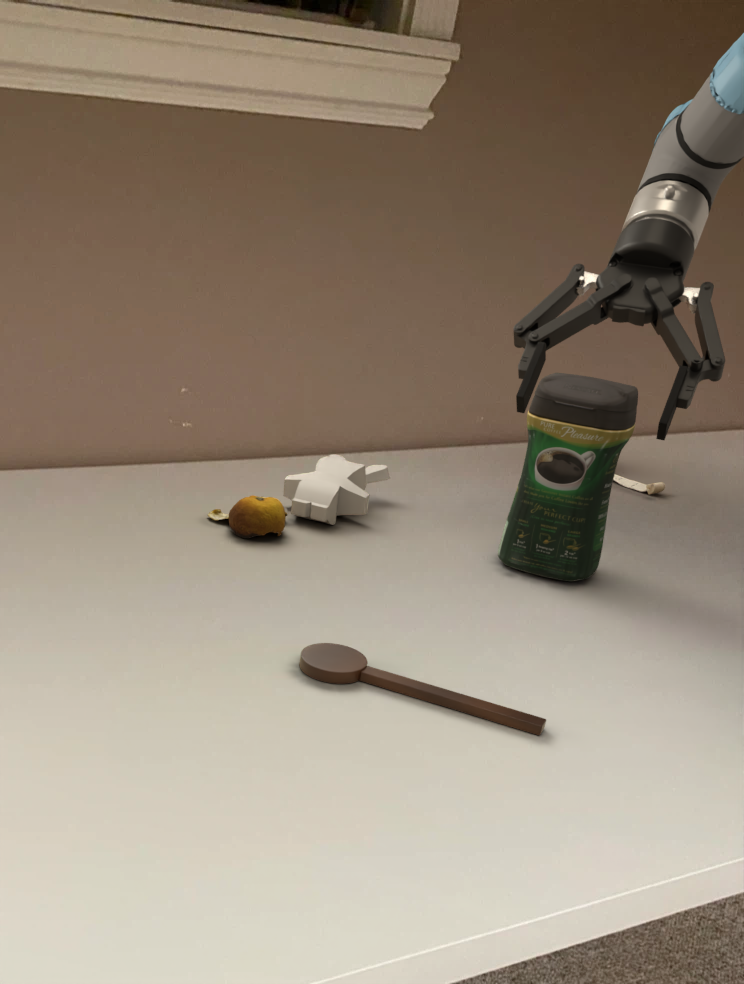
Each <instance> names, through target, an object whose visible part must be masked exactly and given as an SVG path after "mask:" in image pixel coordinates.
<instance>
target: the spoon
mask: <svg viewBox="0 0 744 984" xmlns="http://www.w3.org/2000/svg"><path fill="white" fill-rule="evenodd" d="M298 663H299V669H300V670H301V671H302V672H303V674H305V675H307V676H308V677H310V678H312V679H314V680H316V681H320V682H323V683H327V684H337V685H339V684H340V685H345V684H353V683H357V682H362V683H365V684H369V685H372V686H375V687H377V688H378V687H379V688H383V689H385V690H389V691H392V692H395V693H399V694H402V695H405V696H408V697H412V698H415V699H418V700H420V701H421V700H422V701H424V702H427V703H431V704H434V705H437V706H440V707H444V708H448V709H451V710H454V711H457V712H461V713H464V714H467V715H470V716H474V717H477V718H480V719H482V720H483V719H484V720H486V721H487V720H488V721H491V722H493V723H497V724H500V725H503V726H507V727H510V728H514V729H517V730H518V731H519V730H520V731H524V732H525V733H530V734H533V735H536V736H541V735H542V733H543V731H544V729H545V726H546V723H547V718H544V717H540V716H537V715H534V714H530V713H528V712H524V711H522V710H521V711H520V710H518V709H515V708H510V707H507V706H504V705H500V704H498V703H494V702H490V701H487V700H485V699H480V698H478V697H473V696H471V695H467V694H464V693H460V692H457V691H454V690H450V689H446V688H443V687H440V686H437V685H433V684H430V683H426V682H424V681H420V680H417V679H414V678H409V677H406V676H404V675H401V674H400V675H399V674H396V673H393V672H389V671H387V670H384V669H379V668H376V667H374V666H370V665H368V659H367V657H366V655H364V654H363V652H361V651H359V650H358V649H355V648H353V647H350V646H348V645H344V644H340V643H339V644H338V643H332V642H318V643H313V644H310V645H307V646H305V647H304V648H303V649H301V652H300V655H299V662H298Z"/></svg>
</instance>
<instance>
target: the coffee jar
mask: <svg viewBox="0 0 744 984" xmlns="http://www.w3.org/2000/svg"><path fill="white" fill-rule="evenodd" d="M638 401H639V390H638V387H637V386H635V385H631V384H626V383H621V382H617V381H613V380H609V379H603V378H599V377H594V376H587V375H582V374H581V375H580V374H574V373H565V372H553V373H550V374H548V375H545V376H544V377H542V378H541V379H540V381H539V382H538V384H537V387H536V389H535V390H534V395H533V398H532V400H531V403H530V406H529V408H528V411H527V412H526V413H527V414H526V428H527V438H528V439H527V446H526V451H525V456H524V462H523V464H522V469H521V474H520V477H519V480H518V484H517V487H516V489H515V494H514V497H513V500H512V503H511V505H510V509H509V512H508V515H507V518H506V521H505V525H504V528H503V531H502V534H501V538H500V541H499V545H498V550H497V556H498V559H499V560H500V561H501V562H502V564H504V565H505V566H507V567H510V568H512V569H516V570H519V571H521V572H525V573H528V574H532V575H536V576H539V577H543V578H549V579H553V580H558V581H564V582H577V581H581V580H587V579H590V578H591V577H592V576H593V575H594V574H595V573H596V571H597V570H598V568H599V564H600V561H601V556H602V552H603V546H604V539H605V533H606V526H607V517H608V511H609V505H610V504H609V503H610V499H611V494H612V493H611V492H612V487H613V482H614V480H613V478H614V474H616V470H617V466H618V462H619V458H620V457H621V456H620V455H621V453H622V452H623V451H622V450H623V449H624V447H625V446H626V445H627V444H628V442H629V441H630V439H631V437H632V436H633V434H634V431H635V428H636V421H637V413H638V412H637V411H638V409H637V407H638V404H639V402H638Z"/></svg>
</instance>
